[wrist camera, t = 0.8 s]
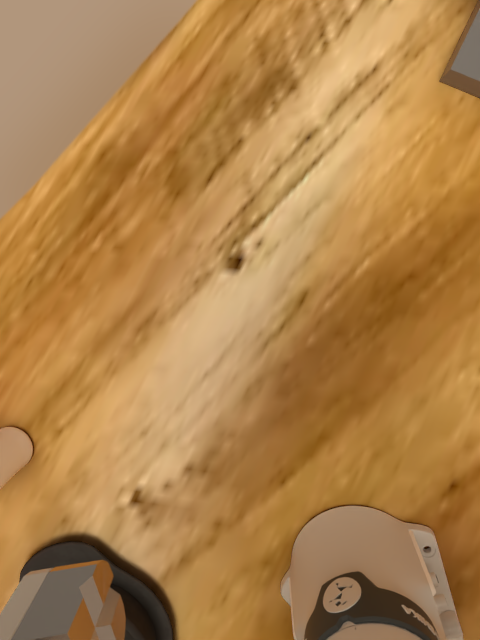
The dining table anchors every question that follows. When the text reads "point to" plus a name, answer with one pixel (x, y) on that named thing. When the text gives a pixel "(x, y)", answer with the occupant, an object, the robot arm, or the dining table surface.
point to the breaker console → (466, 58)
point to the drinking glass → (13, 452)
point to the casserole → (139, 601)
